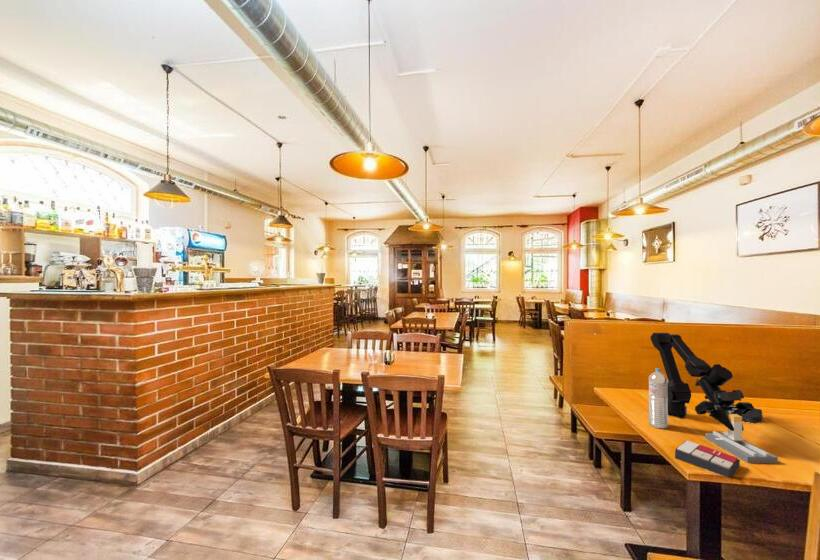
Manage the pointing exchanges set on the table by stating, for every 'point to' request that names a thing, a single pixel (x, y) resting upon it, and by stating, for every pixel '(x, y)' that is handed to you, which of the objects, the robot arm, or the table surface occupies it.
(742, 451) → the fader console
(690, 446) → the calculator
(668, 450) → the table surface
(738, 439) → the fader tab
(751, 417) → the dark slate chunk
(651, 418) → the water bottle
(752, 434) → the table surface
